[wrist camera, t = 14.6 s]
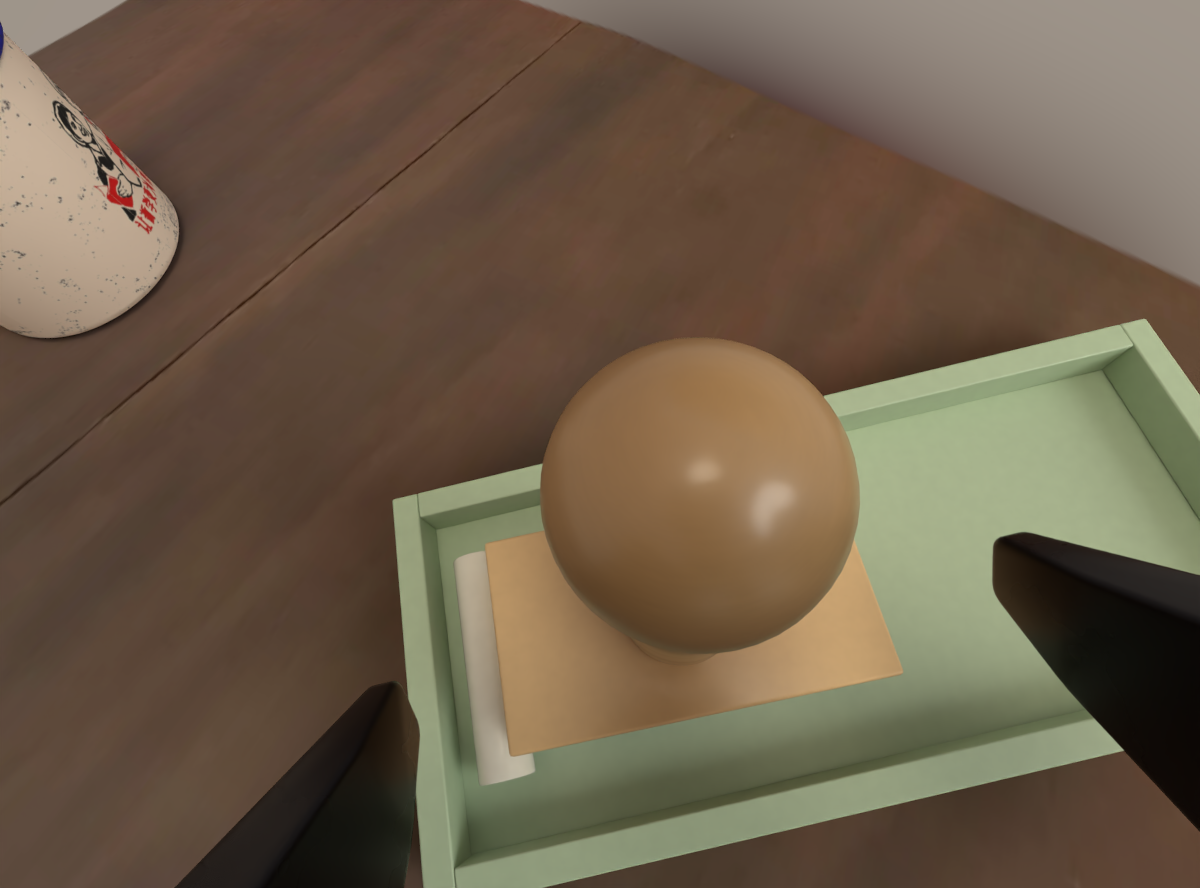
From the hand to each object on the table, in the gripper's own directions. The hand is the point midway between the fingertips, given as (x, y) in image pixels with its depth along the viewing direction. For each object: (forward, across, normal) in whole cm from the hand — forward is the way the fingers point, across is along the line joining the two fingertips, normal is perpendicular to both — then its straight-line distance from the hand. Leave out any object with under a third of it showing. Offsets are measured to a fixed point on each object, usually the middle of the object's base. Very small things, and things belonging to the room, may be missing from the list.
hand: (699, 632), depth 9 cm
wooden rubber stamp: (+7, 0, +6) cm, 9 cm away
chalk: (+7, +4, +5) cm, 9 cm away
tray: (+8, -4, +6) cm, 11 cm away
